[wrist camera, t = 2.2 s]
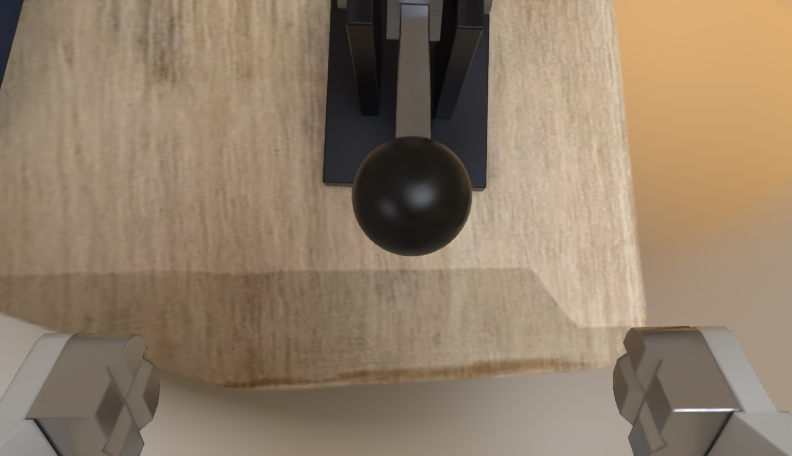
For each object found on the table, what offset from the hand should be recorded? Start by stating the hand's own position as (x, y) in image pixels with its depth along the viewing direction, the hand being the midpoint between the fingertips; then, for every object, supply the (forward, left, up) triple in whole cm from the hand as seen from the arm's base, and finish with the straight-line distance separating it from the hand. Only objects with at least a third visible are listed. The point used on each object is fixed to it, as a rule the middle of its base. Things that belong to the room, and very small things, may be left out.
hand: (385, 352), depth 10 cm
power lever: (+7, +1, -11) cm, 13 cm away
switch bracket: (+13, +1, -23) cm, 26 cm away
